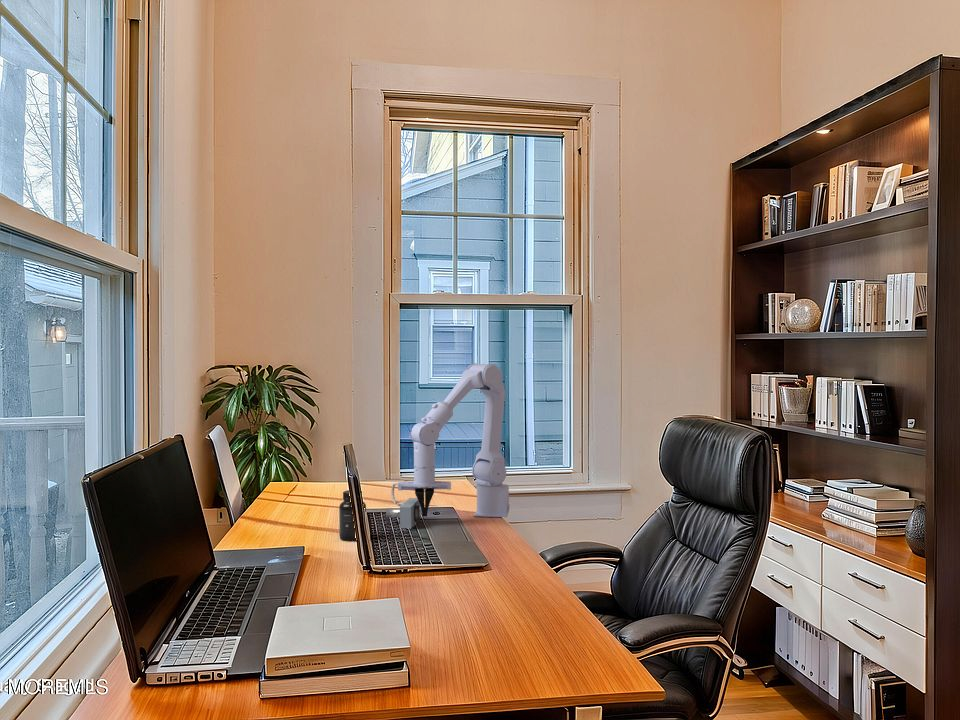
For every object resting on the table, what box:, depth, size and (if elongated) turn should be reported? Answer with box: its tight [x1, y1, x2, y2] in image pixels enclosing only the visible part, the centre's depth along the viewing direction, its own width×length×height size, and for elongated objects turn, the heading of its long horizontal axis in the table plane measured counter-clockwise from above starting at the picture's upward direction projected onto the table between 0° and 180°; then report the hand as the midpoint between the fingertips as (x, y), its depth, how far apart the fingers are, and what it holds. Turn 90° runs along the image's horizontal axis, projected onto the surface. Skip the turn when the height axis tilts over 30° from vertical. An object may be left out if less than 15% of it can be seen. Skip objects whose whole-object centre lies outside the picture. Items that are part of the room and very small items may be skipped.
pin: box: [385, 505, 422, 523], centre depth 203 cm, size 9×5×5 cm, turn 83°
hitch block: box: [399, 497, 420, 530], centre depth 203 cm, size 3×12×6 cm, turn 173°
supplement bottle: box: [338, 489, 367, 542], centre depth 188 cm, size 7×7×12 cm
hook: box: [390, 482, 421, 509], centre depth 223 cm, size 7×9×20 cm
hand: (424, 515), depth 202 cm, fingers closed
